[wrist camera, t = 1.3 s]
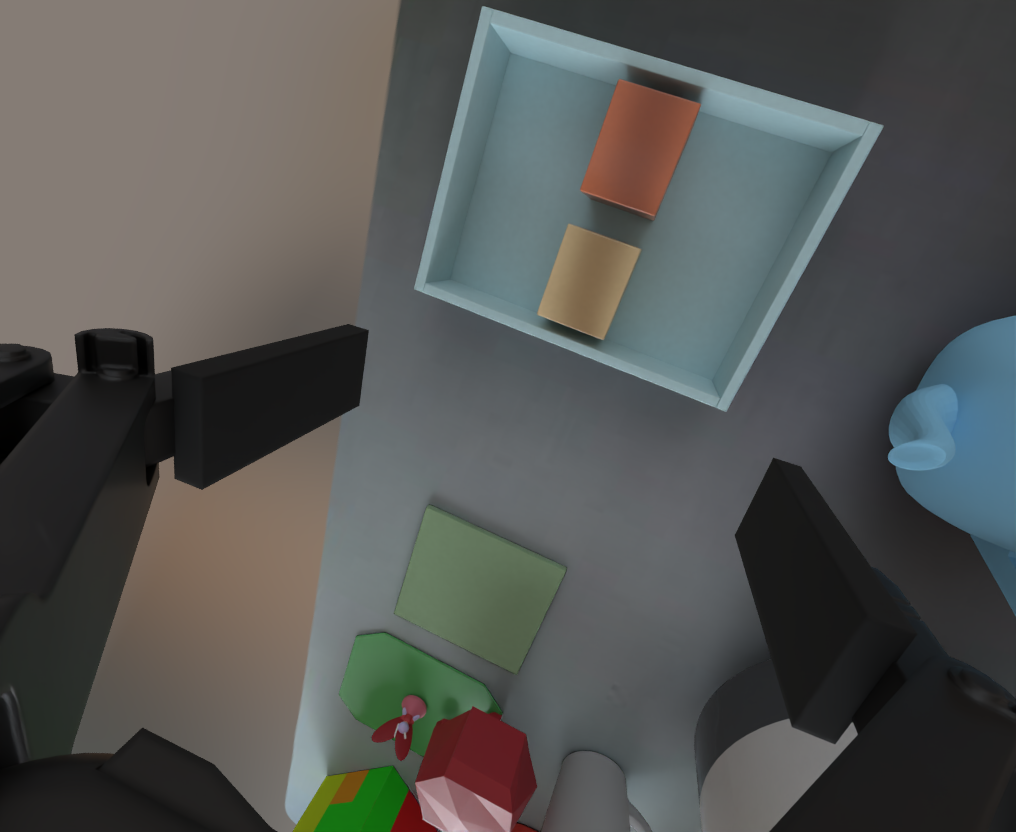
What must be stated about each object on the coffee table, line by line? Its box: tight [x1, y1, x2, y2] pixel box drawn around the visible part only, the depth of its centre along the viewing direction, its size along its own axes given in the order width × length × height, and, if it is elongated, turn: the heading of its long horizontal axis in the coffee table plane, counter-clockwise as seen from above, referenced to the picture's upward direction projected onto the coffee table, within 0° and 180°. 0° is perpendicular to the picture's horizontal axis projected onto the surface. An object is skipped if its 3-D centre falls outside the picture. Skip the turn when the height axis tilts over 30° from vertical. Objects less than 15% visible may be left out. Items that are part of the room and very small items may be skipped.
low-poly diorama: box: [339, 632, 537, 832], centre depth 42 cm, size 15×20×9 cm
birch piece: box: [537, 224, 642, 340], centre depth 28 cm, size 4×5×4 cm
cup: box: [541, 751, 652, 832], centre depth 40 cm, size 8×10×8 cm
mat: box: [394, 504, 567, 675], centre depth 41 cm, size 12×12×1 cm
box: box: [414, 6, 883, 411], centre depth 27 cm, size 19×14×4 cm
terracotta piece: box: [580, 79, 701, 221], centre depth 25 cm, size 4×5×4 cm
